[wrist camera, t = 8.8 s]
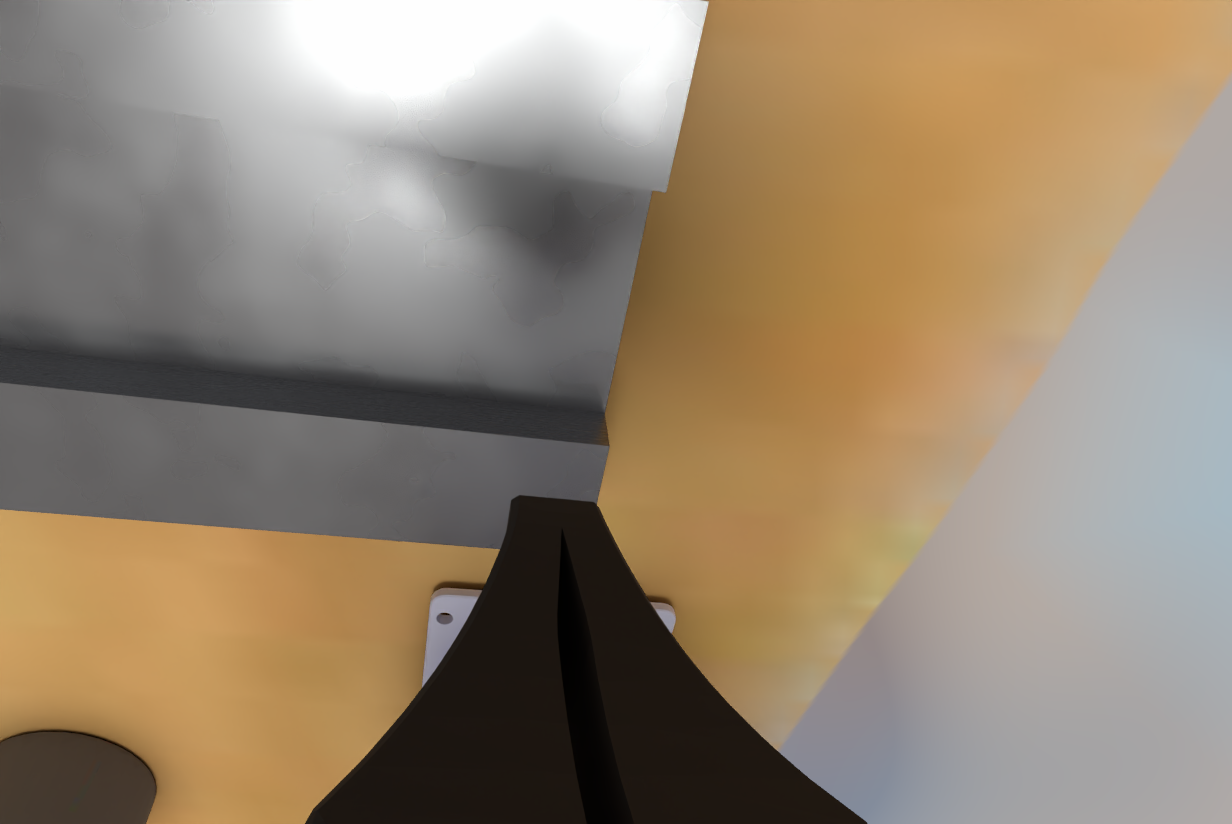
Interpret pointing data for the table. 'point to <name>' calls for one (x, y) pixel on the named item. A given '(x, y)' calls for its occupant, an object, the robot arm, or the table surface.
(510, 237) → the slotted plate
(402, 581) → the table surface
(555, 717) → the robot arm
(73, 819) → the bottle
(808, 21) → the table surface
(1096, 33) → the table surface
